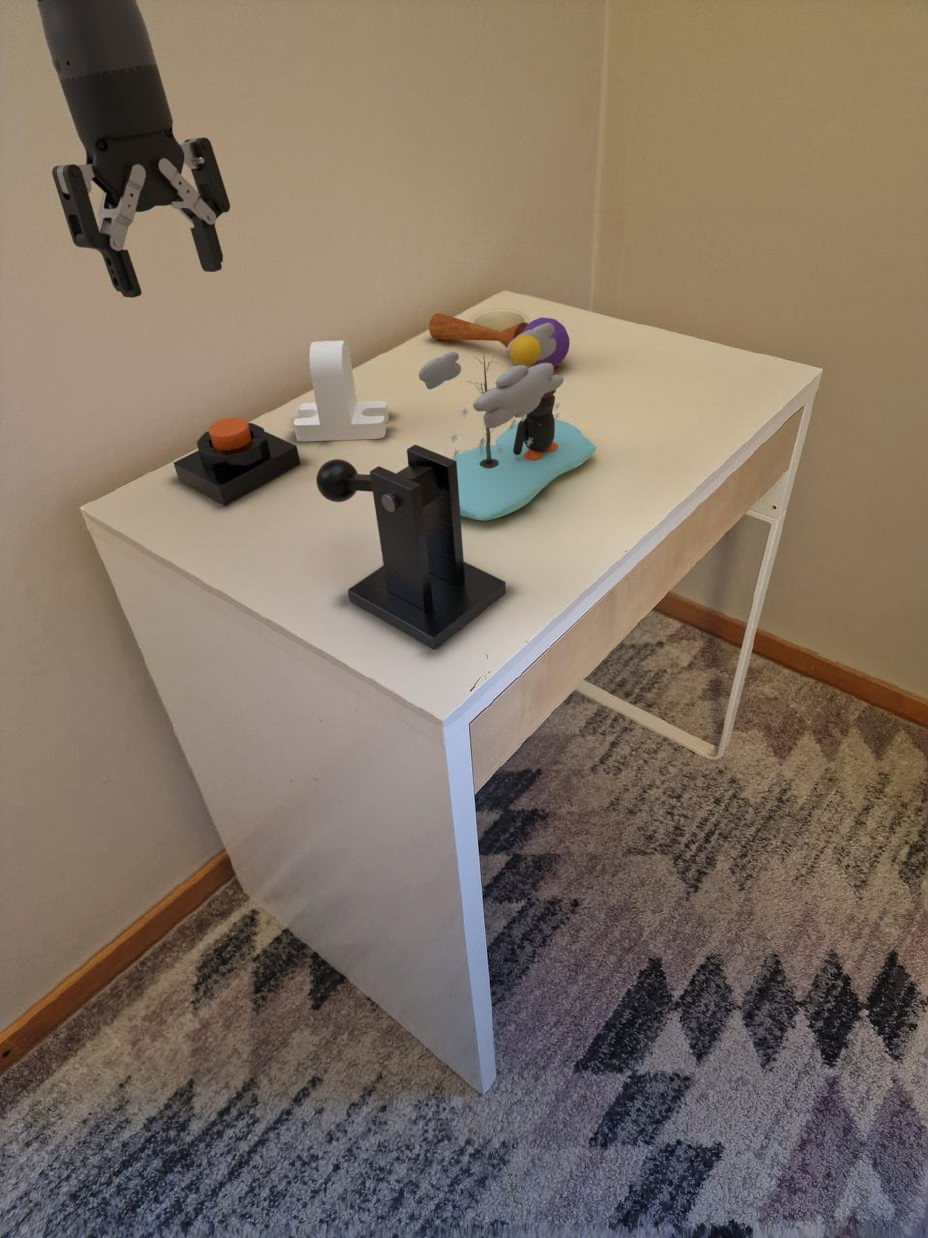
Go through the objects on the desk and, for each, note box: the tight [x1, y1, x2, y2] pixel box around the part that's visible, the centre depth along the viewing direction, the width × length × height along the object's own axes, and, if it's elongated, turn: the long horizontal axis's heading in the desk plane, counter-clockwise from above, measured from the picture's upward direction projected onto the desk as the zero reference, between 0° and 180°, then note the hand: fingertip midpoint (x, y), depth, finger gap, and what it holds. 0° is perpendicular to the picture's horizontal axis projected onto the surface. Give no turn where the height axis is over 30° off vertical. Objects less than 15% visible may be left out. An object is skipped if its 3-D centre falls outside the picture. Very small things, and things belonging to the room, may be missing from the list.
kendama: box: [428, 312, 570, 368], centre depth 107 cm, size 6×6×20 cm
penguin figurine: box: [418, 323, 597, 521], centre depth 81 cm, size 20×11×15 cm, turn 135°
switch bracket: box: [347, 444, 507, 650], centre depth 69 cm, size 10×9×13 cm
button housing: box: [172, 422, 301, 507], centre depth 89 cm, size 10×8×4 cm
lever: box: [315, 458, 441, 507], centre depth 69 cm, size 13×4×4 cm, turn 49°
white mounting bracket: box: [293, 339, 390, 442], centre depth 93 cm, size 5×10×10 cm, turn 88°
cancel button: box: [208, 417, 252, 450], centre depth 87 cm, size 4×4×2 cm
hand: (174, 282), depth 76 cm, fingers open, 8 cm apart
